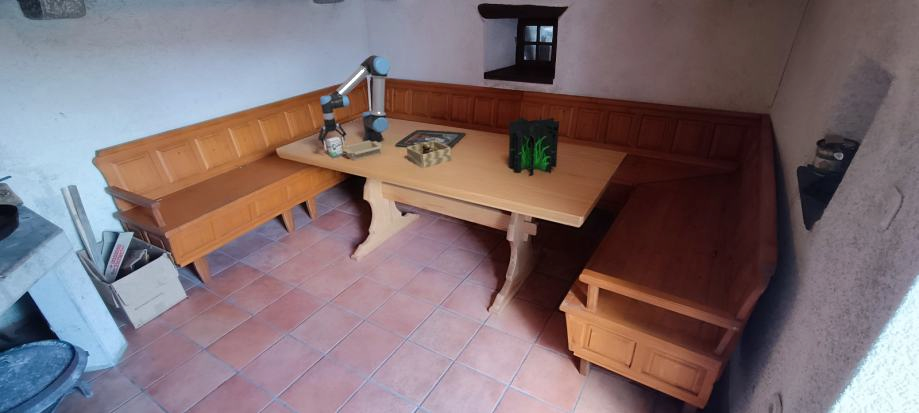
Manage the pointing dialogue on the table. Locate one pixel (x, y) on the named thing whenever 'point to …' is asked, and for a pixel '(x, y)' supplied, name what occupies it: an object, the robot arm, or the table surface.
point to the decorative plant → (533, 145)
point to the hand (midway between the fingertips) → (334, 147)
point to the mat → (336, 155)
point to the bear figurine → (427, 149)
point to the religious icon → (431, 138)
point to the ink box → (334, 146)
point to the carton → (362, 150)
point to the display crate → (429, 154)
